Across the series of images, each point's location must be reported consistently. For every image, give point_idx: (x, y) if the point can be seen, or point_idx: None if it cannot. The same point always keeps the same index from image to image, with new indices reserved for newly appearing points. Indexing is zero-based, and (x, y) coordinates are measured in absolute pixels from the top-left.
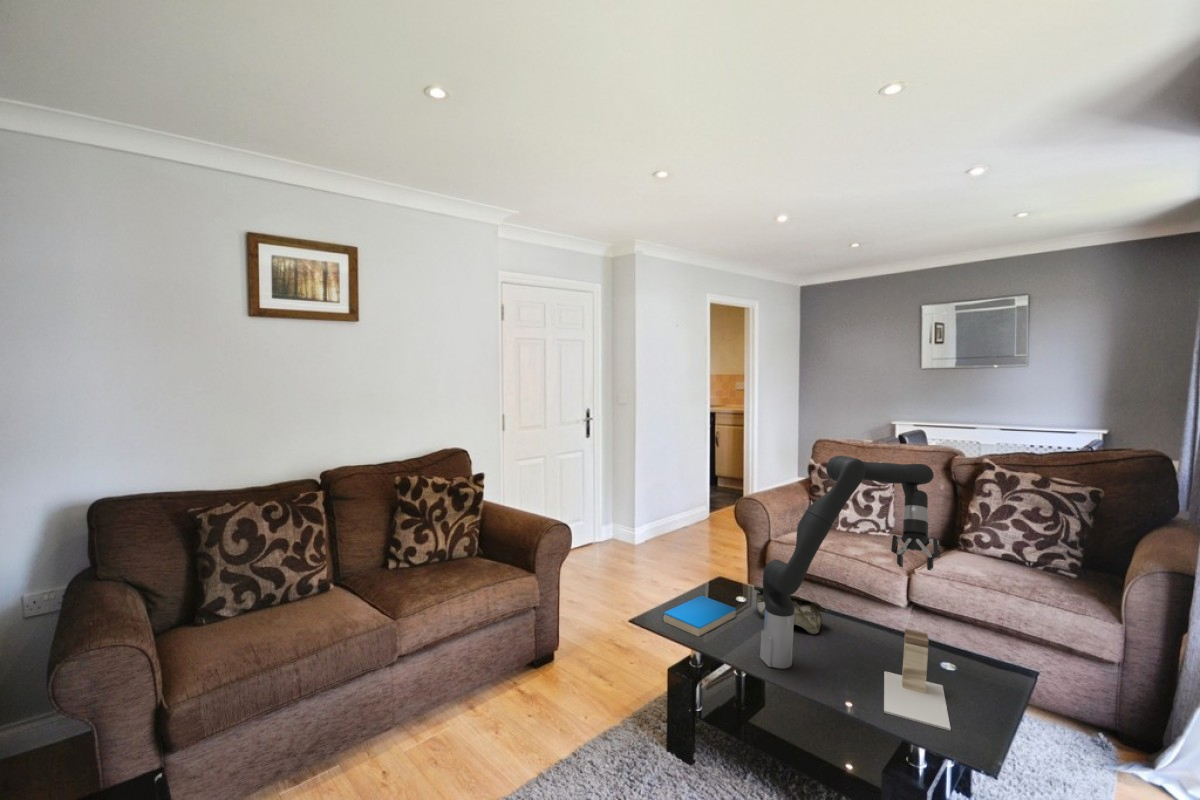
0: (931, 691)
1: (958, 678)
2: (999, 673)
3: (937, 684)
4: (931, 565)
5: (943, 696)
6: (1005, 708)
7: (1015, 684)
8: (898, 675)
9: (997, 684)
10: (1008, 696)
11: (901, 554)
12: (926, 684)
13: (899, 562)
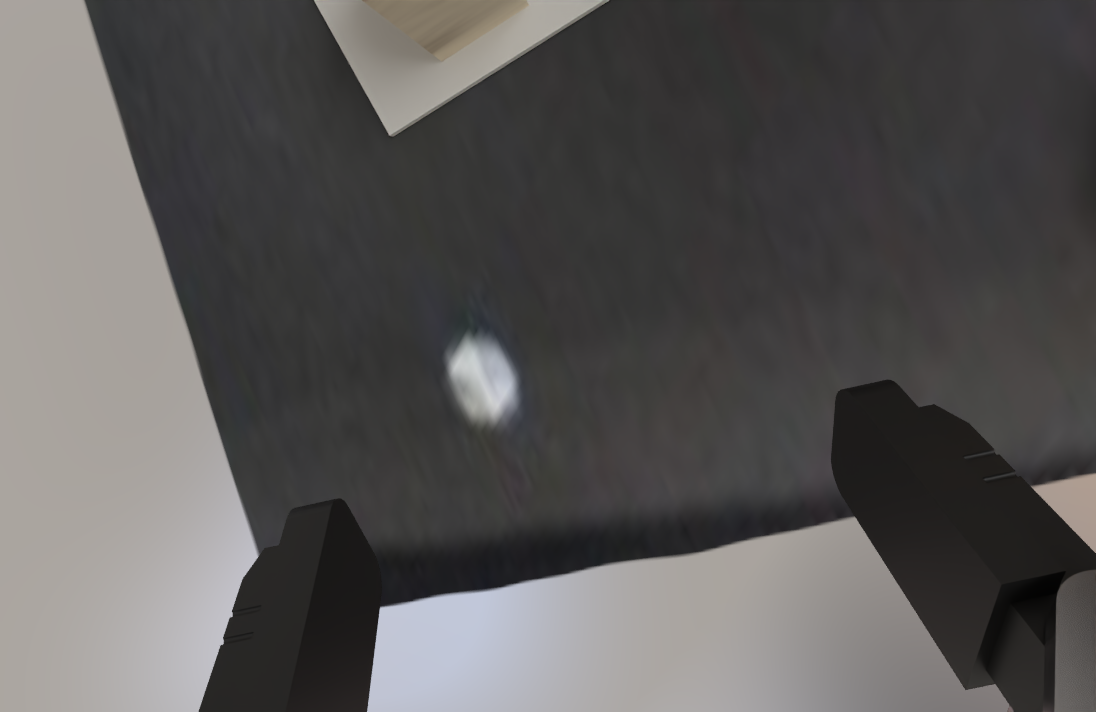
0: (386, 19)
1: (398, 297)
2: None
3: (406, 121)
4: (248, 595)
5: (334, 26)
6: (178, 209)
7: (257, 463)
8: (555, 18)
9: (290, 396)
10: (221, 328)
11: (1027, 664)
12: (433, 67)
13: (912, 419)
